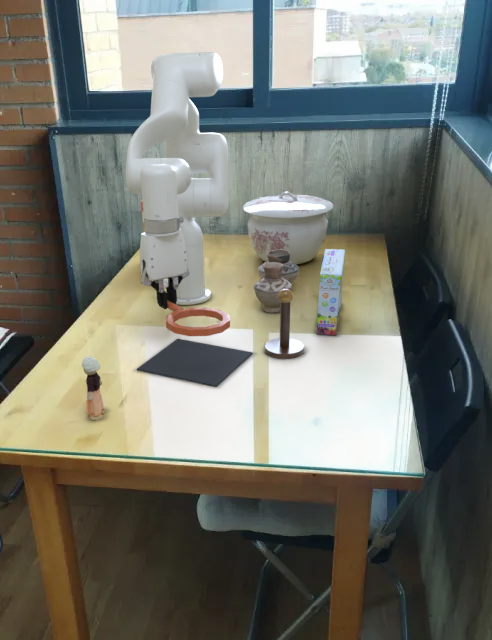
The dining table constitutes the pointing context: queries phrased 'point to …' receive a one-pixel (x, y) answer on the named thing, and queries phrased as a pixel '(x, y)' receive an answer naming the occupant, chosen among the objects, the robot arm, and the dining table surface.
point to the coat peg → (284, 332)
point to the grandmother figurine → (93, 389)
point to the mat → (195, 362)
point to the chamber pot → (288, 225)
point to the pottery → (275, 279)
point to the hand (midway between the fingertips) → (167, 305)
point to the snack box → (330, 291)
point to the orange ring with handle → (189, 312)
